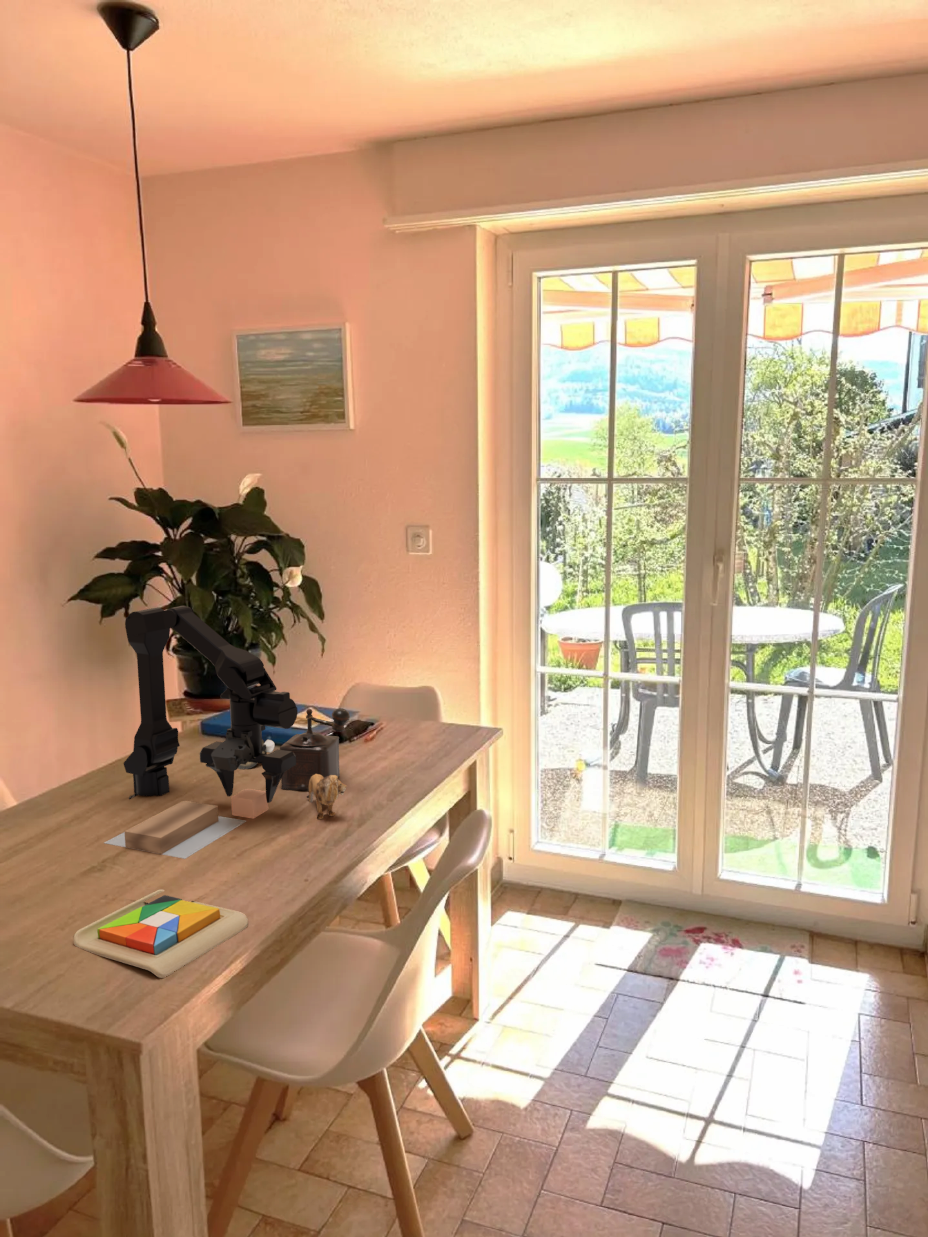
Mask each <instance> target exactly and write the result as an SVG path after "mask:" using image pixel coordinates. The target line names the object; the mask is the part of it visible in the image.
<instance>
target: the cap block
mask: <svg viewBox="0 0 928 1237" xmlns="http://www.w3.org/2000/svg"><path fill="white" fill-rule="evenodd" d="M230 800H231V801H230V802H231V815H232V816H235V817H242V818H249V819H256V818H257V817H259V816H260V815H262V814H263V813H265V812H267V811H268V810H269V803H267V799H266V790H259V789H254V788H253V789H252V788H247V787H246V788H244V789H242V790H240V791H239V792H237V793H235V794H232V795H231V796H230Z"/></svg>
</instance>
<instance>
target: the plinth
mask: <svg viewBox="0 0 928 1237" xmlns="http://www.w3.org/2000/svg"><path fill="white" fill-rule="evenodd" d="M218 816H219V806H218V805H215V804H207V803H203V802H202V803H201V802H197V801H196V802H195V801H190V800H182V801H179V802H177V803H176V804H174V805H172V806H170V807H168V808H167V809H164V810H163V811H161V812H159V813H157V814H155V815H152V816H150V817H148V818H147V819H145V820H143V821H141V822H140V823H138V824H136V825H134V826H131V827H129V828H128V829H126V830H124V831H123V833H124V832H125V846H126V847H127V848H126V847H125V848H126V849H131V848H133V850H136V849H138V851H141V850H143V851H142V852H147V851H148V853H152V852H153V854H157V853H158V854H157V855H162V854H163V853H165V852H166V851H168V850H170V849H171V848H173V847H175V846H177V845H178V844H180V843H182V842H183V841H185V840H187V839H189V838H190V837H192V836H194V835H195V834H197V833H199V832H201V831H202V830H204V829H206V828H207V827H209V826H211V825H213V824H214V823H216V822H218V821H219V819H218Z"/></svg>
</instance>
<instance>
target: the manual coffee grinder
mask: <svg viewBox="0 0 928 1237" xmlns="http://www.w3.org/2000/svg"><path fill="white" fill-rule="evenodd" d="M305 714H306V715H305V719H306V720H307V723H306V724H307V729H306V730H307V731H306V732H303V733H301V734H300V733H296V734H295V735H293V736H292V737H290V738H289V739H288V740H287V741H285V742H284V743H283V744H282V745H281V746H280V747H279V750H285V751H292V752H293V753H294V754H295V756H296V765H295V766H293V767H291V768H290V769H288V770H287V771H285V772H284V774H283V776H282V778H281V780H280V782H281V787H280V788H281V790H286V791H287V790H288V791H289V790H290V791H301V792H302V791H305V792H307V791H308V792H309V781H310V778H311V777H312V776H313V775H315V774H320V775H322V776H323V778H324V777H327V776H330V775H336V776H338V779H339V778H340V740H339V739H340V737H339V736H335V735H323V734H322V733H320V732H316V731H315V732H314V731H313V729H312V725H313V724H312V721H313V722H315V723H318V724H321V725H325V726H329V727H331V728H332V730H334V731H335V732H336V733H338V732H341V733H342V732H344V731H345V730H346V729H345V728H346V727H345V725H346V724H347V723H348V721H349V720H350V716H351V715H350V712H349V711H348V710H346V709H344V708H342V707H340V708H336V709H334V710H333V711H332V713H331V717H332V719H333V722H332V721H328V720H324V719H319V718H317V717H313V710H312V709H311V708H308V709H307V710H306V713H305Z"/></svg>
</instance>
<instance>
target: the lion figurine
mask: <svg viewBox="0 0 928 1237" xmlns="http://www.w3.org/2000/svg"><path fill="white" fill-rule="evenodd" d="M347 788H348V787H347V784H344V783H342V781H341V780H339V778H338V776H336V775H330V776H327V777H324V778H323V776H322V775H320V774H315V775H313V776H312V777H311V778H310V781H309V791H308V795H306V798H307V799H308V802H309V803H313V801H314V797H315V801H316V803H315V804H316V811H317V813H318V814H317V820H323V819H324V812H323V805H325V806H328V807H327V814H328V816H330V817H333V816H335V815H336V812H334V810H333V808H334V803H335V801H336V800H338V799H339V795H342V796H343V795H344V793H345V791H346V789H347Z"/></svg>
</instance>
